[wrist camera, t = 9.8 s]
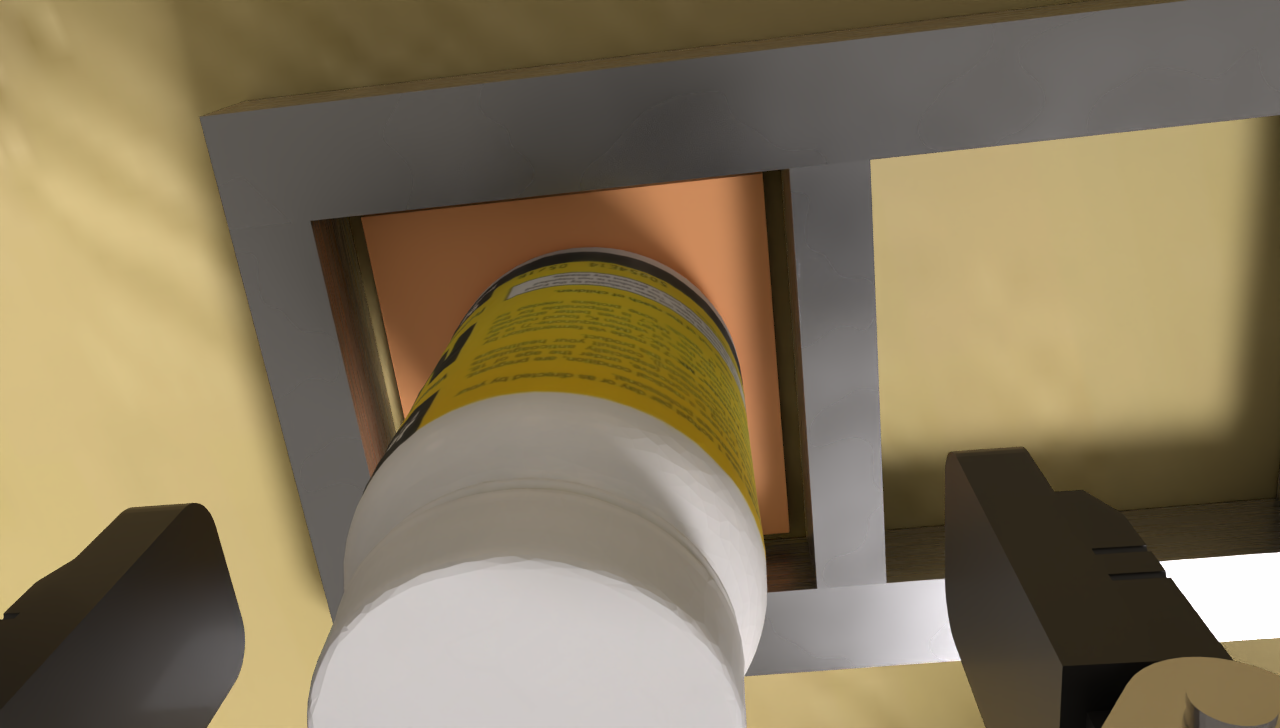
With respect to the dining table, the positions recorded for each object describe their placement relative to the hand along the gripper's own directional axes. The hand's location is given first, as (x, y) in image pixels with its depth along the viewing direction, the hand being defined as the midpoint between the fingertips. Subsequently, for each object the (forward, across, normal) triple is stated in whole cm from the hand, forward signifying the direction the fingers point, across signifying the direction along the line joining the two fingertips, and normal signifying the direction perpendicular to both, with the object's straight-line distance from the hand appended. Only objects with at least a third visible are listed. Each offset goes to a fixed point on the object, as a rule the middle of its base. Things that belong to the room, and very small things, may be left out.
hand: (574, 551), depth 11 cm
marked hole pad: (+6, 0, 0) cm, 6 cm away
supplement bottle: (+6, 0, 0) cm, 6 cm away
